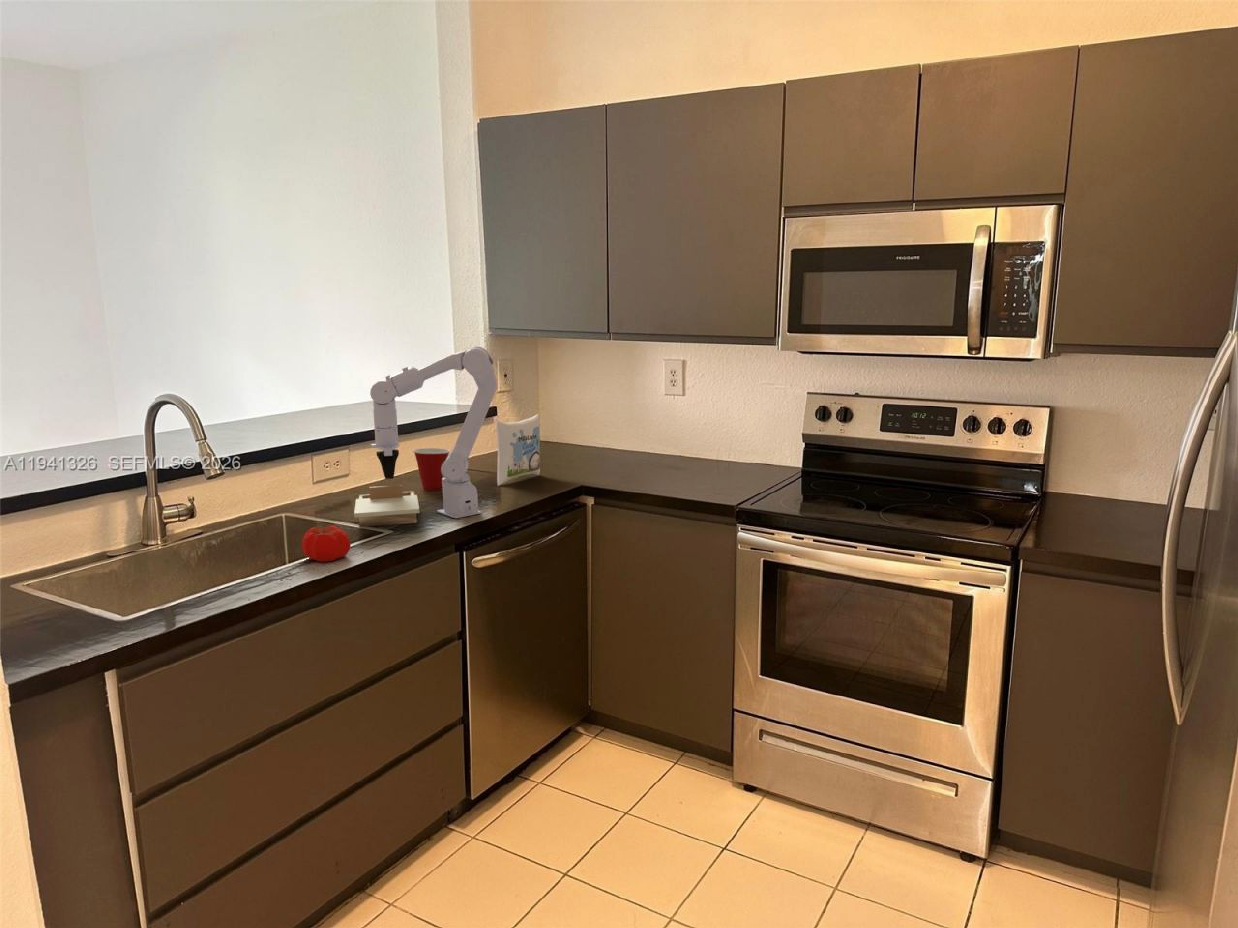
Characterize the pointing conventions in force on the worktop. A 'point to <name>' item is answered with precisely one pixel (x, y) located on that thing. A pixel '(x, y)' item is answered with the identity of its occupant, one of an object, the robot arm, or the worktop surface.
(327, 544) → the tomato
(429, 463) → the plastic cup
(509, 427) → the pouch
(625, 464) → the worktop surface
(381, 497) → the lid
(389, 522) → the storage box
